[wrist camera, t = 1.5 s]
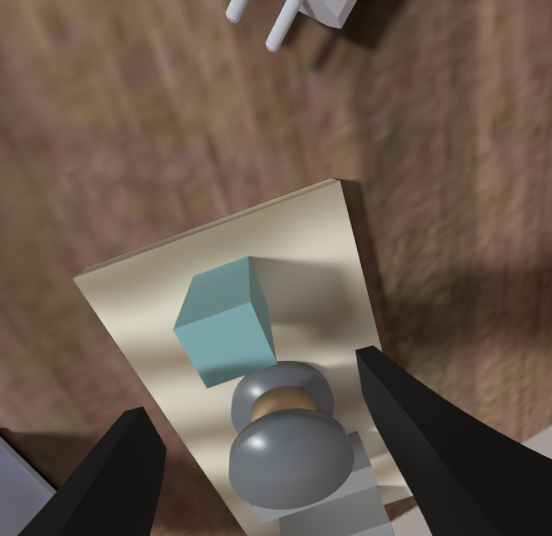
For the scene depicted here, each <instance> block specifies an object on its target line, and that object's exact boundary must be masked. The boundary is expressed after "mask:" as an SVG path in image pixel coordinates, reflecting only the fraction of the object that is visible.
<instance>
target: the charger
mask: <svg viewBox="0 0 552 536" xmlns="http://www.w3.org/2000/svg"><path fill="white" fill-rule="evenodd" d="M248 1H249V0H231V2H230V5H229V7H228V9H227V11H226V15H227V18H228V19H229V20H230V21H231V22H232V23H238V22H239V20H240V18H241V16H242V14H243V11H244V9H245V7H246V5H247V3H248ZM356 1H357V0H286V3H285V5H284V7H283V9H282V11H281V13H280V15H279V17H278V19H277V21H276V23H275V25H274V27H273V29H272V31H271V33H270V35H269V37H268V39H267V41H266V47H267V48H268V50H269V51H271V52H277V51H278V49H279V47H280V45H281V43H282V41H283V39H284V37H285V35H286V33H287V31H288V29H289V27H290V26H291V24H292V22H293V20H294V18H295V16H296V14H297V12H298V11H300V12H302V13H304V14H306V15H308V16H309V17H311V18H313V19H315V20H317V21H319V22H321V23H323V24H325V25H327V26H330V27H335V28H340V29H341V28H342V26H343V25H344V23H345V21H346V19H347V17H348V16H349V14H350V12H351V10H352V8H353V7H354V5H355V3H356Z"/></svg>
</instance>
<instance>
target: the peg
mask: <svg viewBox="0 0 552 536" xmlns="http://www.w3.org/2000/svg"><path fill="white" fill-rule="evenodd" d="M173 331H174V332H175V334H176V336H177V338H178V339H179V341H180V343H181V345H182V346H183V348H184V350H185V352H186V353H187V355H188V357H189V359H190V360H191V362H192V364H193V366H194V367H195V369H196V371H197V372H198V374H199V376H200V378H201V379H202V381H203V383H204V385H205V386H206V388H207V389H208V388H210V387H213V386H216V385H219V384H222V383H225V382H228V381H230V380H233V379H236V378H239V377H242V376H245V375H248V374H250V373H253V372H256V371H259V370H262V369H265V368H268V367H270V366H273V365H276V364H277V359H276V353H275V347H274V341H273V335H272V329H271V323H270V317H269V311H268V304H267V302H266V299H265V297H264V294H263V292H262V289H261V287H260V285H259V282H258V280H257V277H256V275H255V272H254V270H253V267H252V265H251V262H250V260H249V258H248V256H247V257H244V258H241V259H239V260H236V261H233V262H230V263H227V264H225V265H222V266H219V267H216V268H214V269H211V270H208V271H205V272H203V273H200V274H197V275H194V276H193V278H192V281H191V283H190V286H189V289H188V291H187V294H186V297H185V299H184V302H183V305H182V307H181V310H180V312H179V315H178V318H177V320H176V323H175V326H174V328H173Z"/></svg>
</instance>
